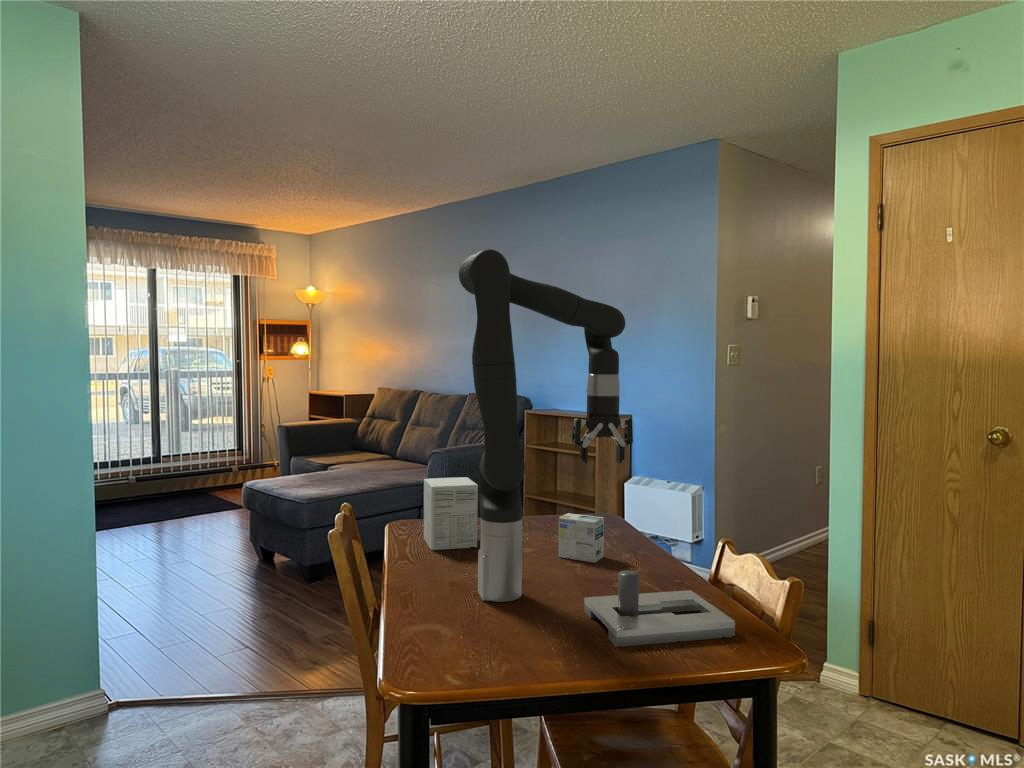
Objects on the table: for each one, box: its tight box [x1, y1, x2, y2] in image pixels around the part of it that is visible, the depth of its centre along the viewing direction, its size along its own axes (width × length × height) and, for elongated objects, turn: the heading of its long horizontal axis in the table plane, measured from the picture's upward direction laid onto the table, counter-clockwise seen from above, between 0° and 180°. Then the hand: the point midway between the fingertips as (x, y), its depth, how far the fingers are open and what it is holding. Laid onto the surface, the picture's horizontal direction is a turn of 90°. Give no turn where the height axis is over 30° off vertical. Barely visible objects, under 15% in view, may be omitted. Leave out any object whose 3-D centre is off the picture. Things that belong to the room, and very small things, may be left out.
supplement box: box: [423, 476, 479, 551], centre depth 198 cm, size 13×13×18 cm
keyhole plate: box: [583, 589, 736, 648], centre depth 140 cm, size 24×18×3 cm
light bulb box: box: [557, 512, 605, 564], centre depth 186 cm, size 11×7×11 cm, turn 63°
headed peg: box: [617, 570, 640, 616], centre depth 139 cm, size 6×6×10 cm
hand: (602, 462), depth 165 cm, fingers open, 8 cm apart
